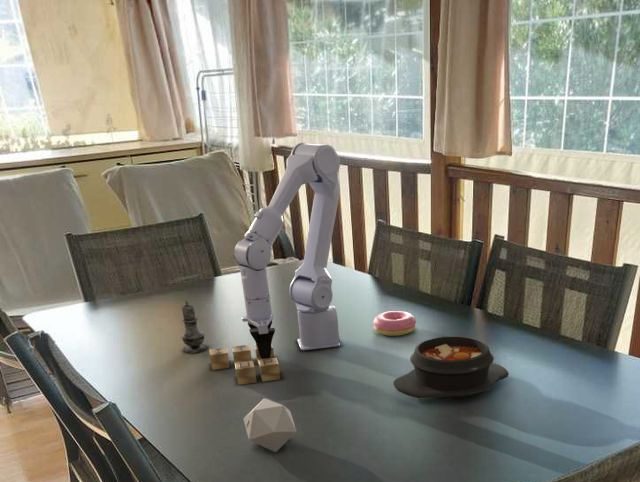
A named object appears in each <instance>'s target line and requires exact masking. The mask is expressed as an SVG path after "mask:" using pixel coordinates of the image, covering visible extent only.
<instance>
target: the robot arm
mask: <svg viewBox="0 0 640 482" xmlns="http://www.w3.org/2000/svg"><path fill="white" fill-rule="evenodd" d="M341 162H342V160H341V158H340V156H339V154H338V153H337V151H336V150H335V148H334V147H333V146H332V145H330V144H328V143H323V144H316V143H307V142H298V143H297V144H295V145H294V146H293V148H292V150H291V152H290V154H289V156H288V157H287V158H286V168H285V170H284V172H283V174H282V176H281V179H280V181H279V183H278V185H277V186H276V189H275V191H274V194H273V196H272V198H271V200H270V201H269V204H268V206H265V207H261V208H260V209H259V210H257V211H256V212H255V214H253V215H254V220H253V222H252V223H251V225H250V227H249V229H248V231H247V232H245V234H244V235H243V237H244V238H243V239H241V240H239V241H238V242H237V243H236V245H235V247H234V251H233V252H234V253H232V259H233V261H234V262H235V264H236V265H237V266H238V268H239V273H240V278H241V284H242V285H241V286H242V292H243V298H244V299H243V300H244V305H245V306H244V307H245V313H246V315H244V316H241V321H242V322H243V323H245V322H247V326H248V327H249V329H248V331H249V334H250V336H251V337H252V338H253V340H254V342H255V344H257V347H258V351H259V354H260V357H261V359H266V358H270V356H271V344H272V345H273V339H274V336H275V332H276V329H275V327H272V324H273V320H274V313H273V310H272V302H271V294H270V293H271V292H270V285H269V277H268V270H267V266H268V264H270V263H271V259H272V252H271V251H272V246H273V245H274V243H275V241H276V239H277V238H278V235H279V234H280V232H281V230H282V228H283V227H284V224H285V223H284V222H285V221H284V218H283V217H284V216H283V215H284V213H285V212H286V211H287V209H288V208H289V206H290V204H291V203H292V201H293V200H294V198H295V196H296V195H297V193H298V192H299V190H300V189H301V187H302V186H303V185H306V184H309V186H310V187H311V189H312V191H313V192H314V196H313V202H312V208H311V213H310V218H309V219H310V220H309V226H308V233H307V237H306V244H305V250H304V256H303V262H302V264H301V265H300V266H299V268H297V269H296V270H295V272H294V273H295V274H294V277H293V279H292V281H291V283H290V285H289V288H288V289H289V290H288V291H289V297H290V299H291V300H292V302H293V303H295V308H296V310H297V312H296V313H297V319H298V320H297V321H298V331H299V338H297V340H296V341H297V343H298V345H299V349H300V350H301V351H312V350H319V349H328V348H329V349H330V348H337V347H340V346H341V343H340V333H339V332H340V331H339V319H338V312H337V308H336V307H335V306H334V305H331V303H332V300H333V287H332V285H333V284H332V283H333V278H332V276H331V275H330V273H329V271H328V270H327V267H328V261H329V256H330V250H331V246H332V245H331V244H332V239H333V232H334V228H335V222H336V215H337V210H338V206H339V205H338V204H339V199H340V193H341V183H340V181H341V180H340V173H339V172H340V167H341Z"/></svg>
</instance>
